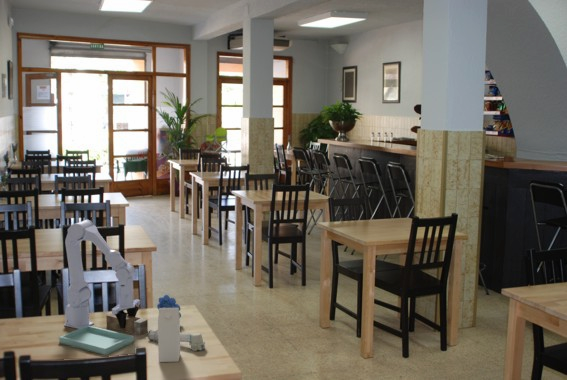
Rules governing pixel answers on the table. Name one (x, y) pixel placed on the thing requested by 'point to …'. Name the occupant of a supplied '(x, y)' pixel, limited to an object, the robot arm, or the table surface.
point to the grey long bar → (184, 339)
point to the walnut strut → (128, 324)
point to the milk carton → (169, 334)
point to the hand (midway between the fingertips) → (126, 325)
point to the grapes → (167, 303)
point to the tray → (96, 340)
